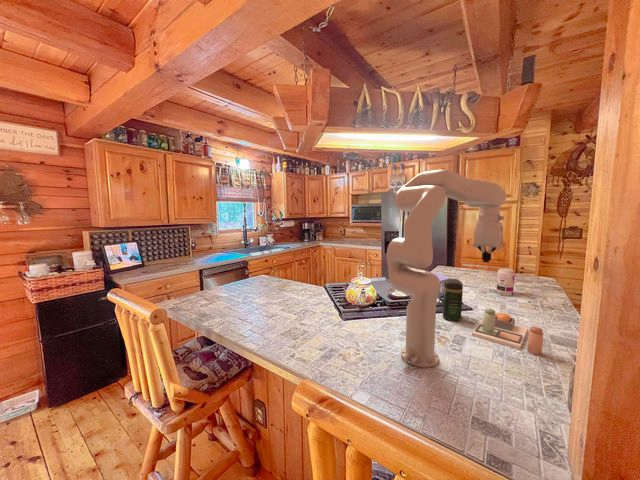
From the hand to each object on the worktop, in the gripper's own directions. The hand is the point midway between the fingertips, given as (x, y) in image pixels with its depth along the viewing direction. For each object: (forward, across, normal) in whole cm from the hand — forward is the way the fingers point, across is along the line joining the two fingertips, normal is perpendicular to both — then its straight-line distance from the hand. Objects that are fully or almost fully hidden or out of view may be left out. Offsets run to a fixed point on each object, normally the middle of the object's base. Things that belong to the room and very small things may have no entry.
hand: (486, 261), depth 112 cm
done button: (+27, -7, -4) cm, 28 cm away
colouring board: (+29, -7, +2) cm, 30 cm away
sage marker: (+28, -3, +6) cm, 29 cm away
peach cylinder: (+29, -19, +11) cm, 36 cm away
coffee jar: (+29, +13, -1) cm, 32 cm away
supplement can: (+29, +1, -56) cm, 63 cm away
